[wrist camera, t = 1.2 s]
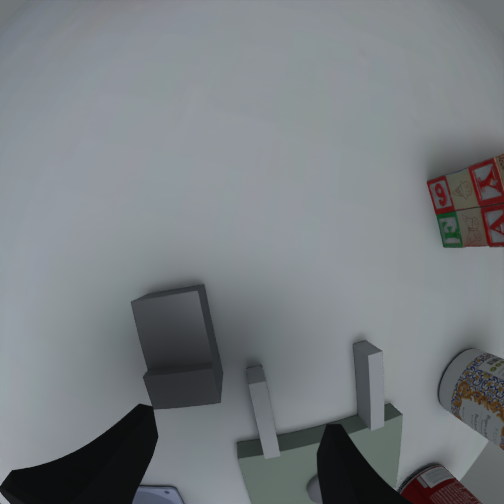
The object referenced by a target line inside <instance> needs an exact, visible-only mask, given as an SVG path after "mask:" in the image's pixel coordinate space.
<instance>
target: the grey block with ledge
mask: <svg viewBox="0 0 504 504" xmlns="http://www.w3.org/2000/svg"><path fill="white" fill-rule="evenodd" d="M131 305H132V310H133V314H134V318H135V323H136V327H137V331H138V335H139V339H140V343H141V347H142V350H143V354H144V358H145V361H146V365H147V368H148V370H147V372H146V373H145V375H144V376H143V379H144V382H145V385H146V388H147V391H148V394H149V397H150V400H151V403H152V406H153V409H154V410H155V409H169V408H180V407H190V406H199V405H207V404H215V403H221V392H222V380H223V370H222V366H221V361H220V357H219V353H218V348H217V344H216V339H215V334H214V330H213V325H212V320H211V316H210V311H209V306H208V301H207V296H206V291H205V286H204V284H203V285H197V286H192V287H186V288H180V289H174V290H169V291H163V292H157V293H151V294H147V295H144V296H142V297H140V298H138V299H136V300H134V301H131Z"/></svg>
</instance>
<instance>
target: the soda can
mask: <svg viewBox="0 0 504 504" xmlns="http://www.w3.org/2000/svg"><path fill="white" fill-rule="evenodd" d="M400 495H402V496H403V497H405V498H406V499H407V500H409V501H410V502H412V503H413V504H482V503H481V502H480V501H479V500H478V499H477V498H476V497H475V496H474V495H473V494H472V493H471V492H469V491H468V490H467V489H466V488H465V487H464V486H463V485H462V484H461V483H460V482H459V481H458V480H457V479H456V478H455V477H454V476H453V475H452V474H451V473H450V472H449V471H448V470H447V469H446V468H445V467H443V466H441V465H435V466H432V467H429V468H427V469H425V470H423V471H421V472H420V473H418V474H417V475H415V476H414V477H413V478H412V479H411V480H410V481H409V482H408V483H407V484H406V485H405V486H404V487H403V489H402V490H401V492H400Z"/></svg>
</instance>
